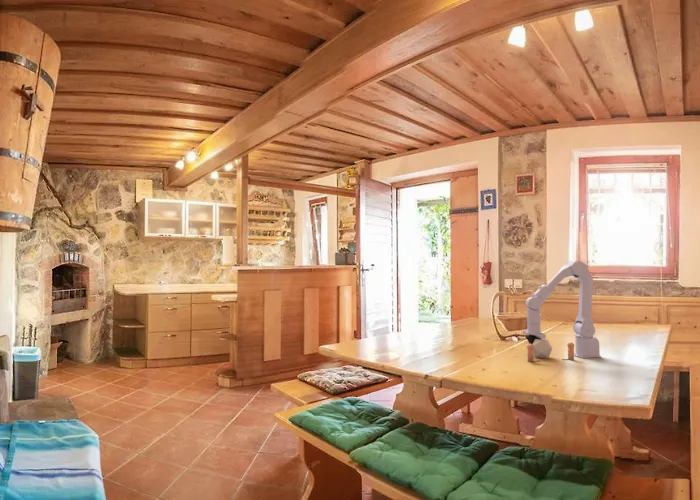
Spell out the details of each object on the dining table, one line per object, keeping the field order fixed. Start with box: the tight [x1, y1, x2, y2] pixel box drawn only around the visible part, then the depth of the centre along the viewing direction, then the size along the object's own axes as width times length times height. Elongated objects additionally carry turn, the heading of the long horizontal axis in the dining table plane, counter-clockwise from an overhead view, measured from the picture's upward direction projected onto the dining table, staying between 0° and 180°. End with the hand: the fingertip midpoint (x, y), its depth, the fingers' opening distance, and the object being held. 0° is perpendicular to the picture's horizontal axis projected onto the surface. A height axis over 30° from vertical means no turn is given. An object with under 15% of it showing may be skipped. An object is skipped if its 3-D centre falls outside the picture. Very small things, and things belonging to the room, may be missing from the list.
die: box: [532, 339, 553, 359], centre depth 193 cm, size 8×9×10 cm
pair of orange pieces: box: [526, 342, 575, 363], centre depth 187 cm, size 23×3×8 cm, turn 101°
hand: (534, 351), depth 198 cm, fingers closed
